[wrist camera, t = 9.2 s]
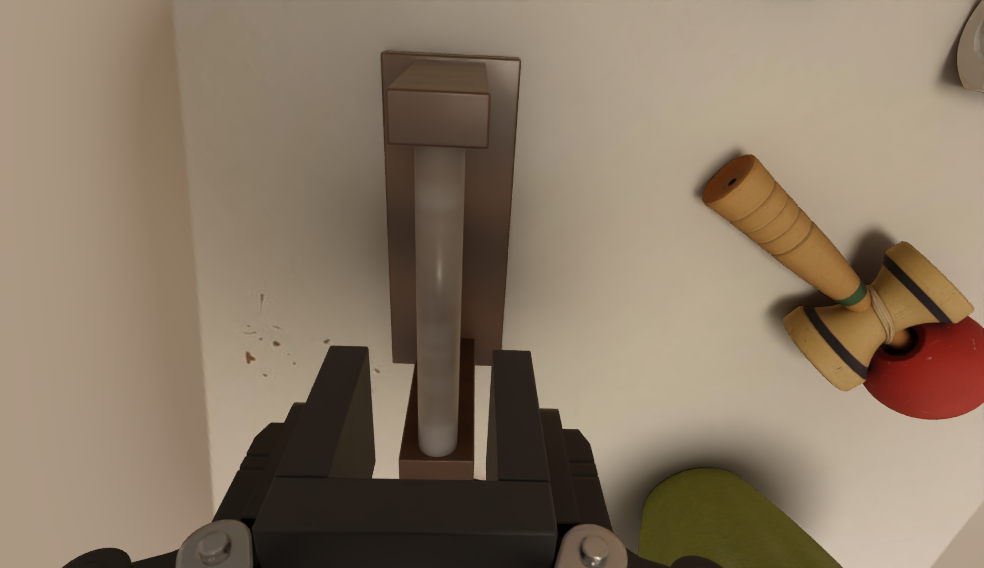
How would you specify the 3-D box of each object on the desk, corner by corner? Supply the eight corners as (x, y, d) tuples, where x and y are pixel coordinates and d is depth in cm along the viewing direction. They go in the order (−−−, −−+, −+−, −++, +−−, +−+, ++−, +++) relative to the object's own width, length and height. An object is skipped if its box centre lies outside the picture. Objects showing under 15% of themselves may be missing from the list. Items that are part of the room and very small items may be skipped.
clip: (329, 344, 14) (249, 529, 9) (530, 350, 14) (559, 533, 9) (341, 460, 16) (279, 668, 11) (519, 463, 16) (538, 668, 11)
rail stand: (383, 50, 24) (329, 77, 15) (519, 57, 24) (544, 88, 16) (394, 353, 31) (362, 492, 23) (499, 356, 32) (508, 494, 23)
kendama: (644, 234, 30) (864, 420, 33) (688, 256, 24) (953, 482, 27) (745, 117, 29) (964, 323, 32) (819, 109, 22) (1082, 365, 25)
